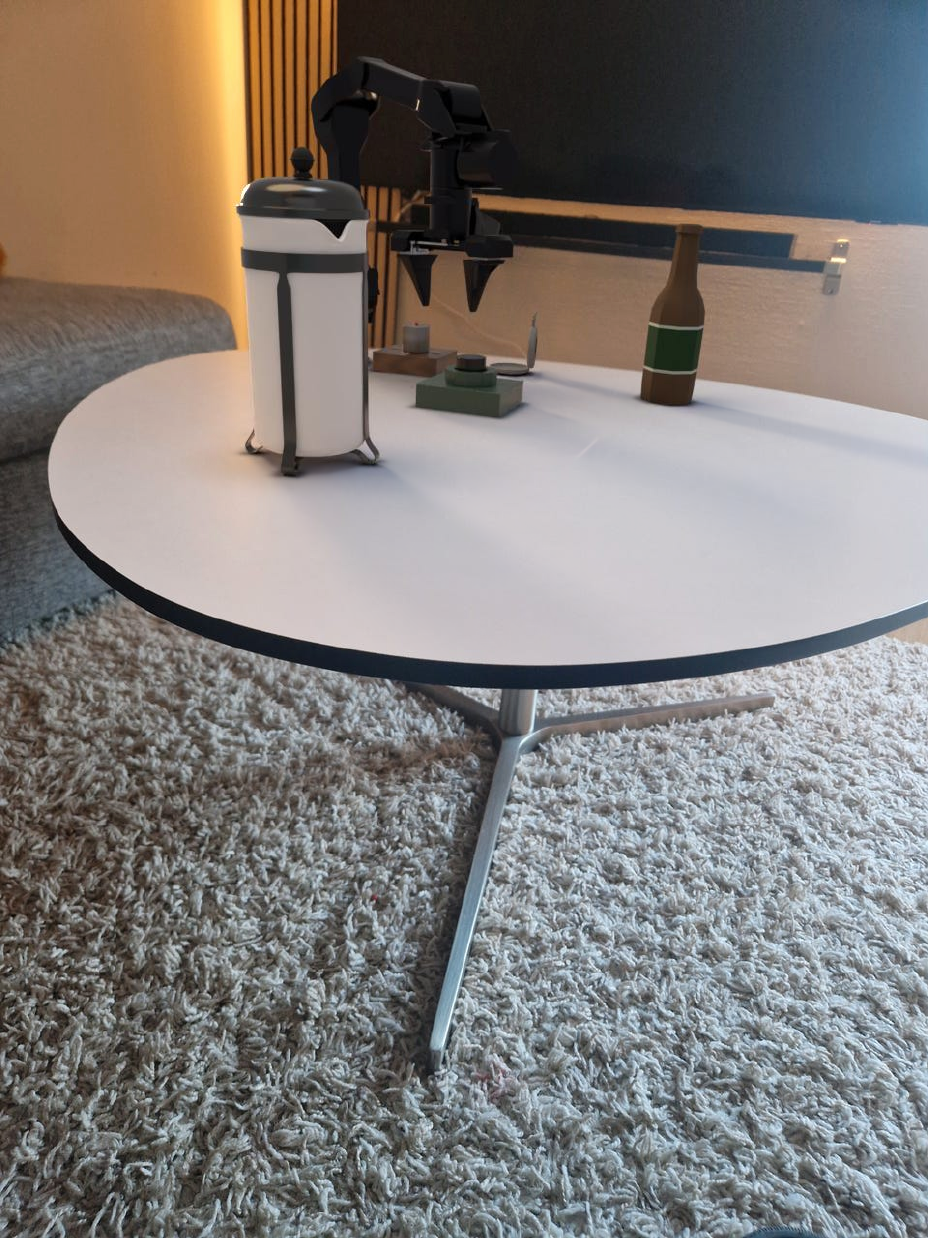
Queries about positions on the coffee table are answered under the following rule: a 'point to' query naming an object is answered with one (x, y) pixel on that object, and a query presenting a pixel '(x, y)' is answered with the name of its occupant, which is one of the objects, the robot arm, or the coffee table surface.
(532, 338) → the pocket watch
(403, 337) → the dial
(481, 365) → the push button
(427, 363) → the dial panel
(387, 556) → the coffee table surface
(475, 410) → the button base
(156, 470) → the coffee table surface
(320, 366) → the coffee press
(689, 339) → the beer bottle
